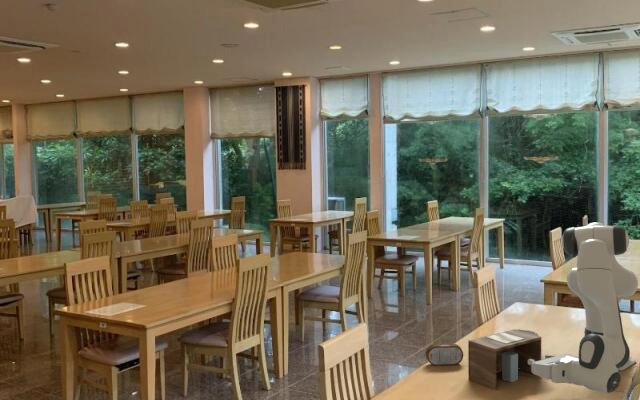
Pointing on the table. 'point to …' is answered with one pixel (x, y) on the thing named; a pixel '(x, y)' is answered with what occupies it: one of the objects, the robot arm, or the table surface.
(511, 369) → the blue block
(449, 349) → the oval desk clock
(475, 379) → the small brown desk
